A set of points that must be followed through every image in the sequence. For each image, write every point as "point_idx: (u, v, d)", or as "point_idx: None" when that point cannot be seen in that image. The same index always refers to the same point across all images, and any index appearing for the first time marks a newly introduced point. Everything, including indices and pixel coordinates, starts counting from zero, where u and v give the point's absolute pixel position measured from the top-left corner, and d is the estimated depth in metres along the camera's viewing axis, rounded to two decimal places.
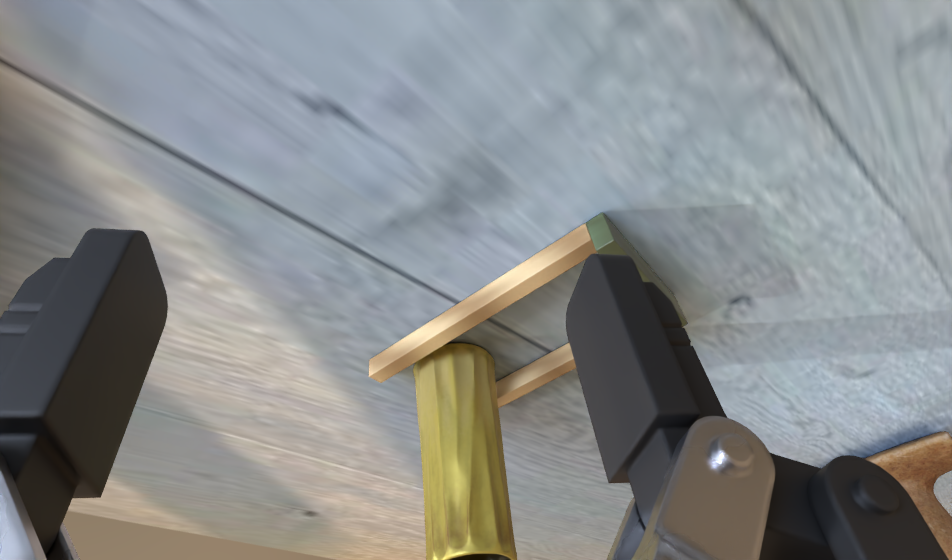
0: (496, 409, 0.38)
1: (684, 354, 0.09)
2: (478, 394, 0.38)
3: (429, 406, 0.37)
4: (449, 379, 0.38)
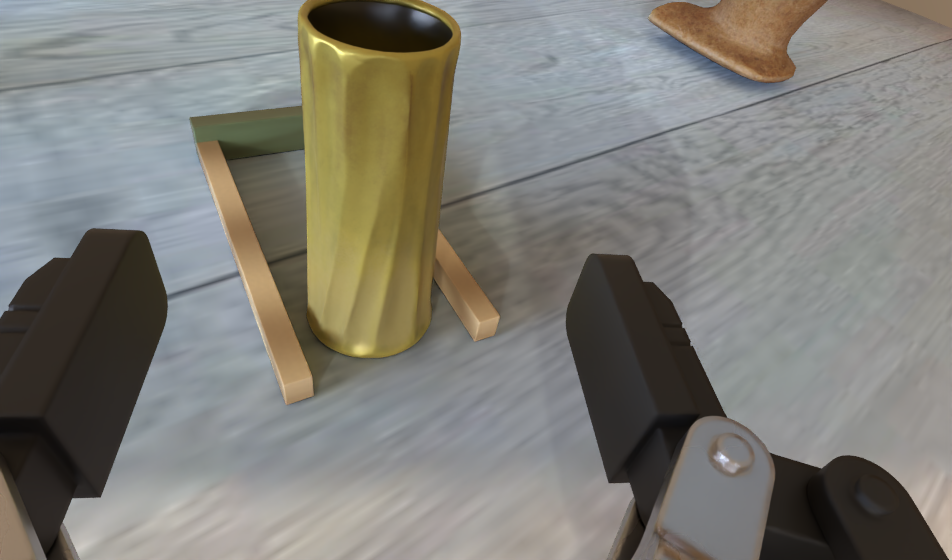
0: None
1: (684, 354, 0.09)
2: None
3: (316, 265, 0.23)
4: None
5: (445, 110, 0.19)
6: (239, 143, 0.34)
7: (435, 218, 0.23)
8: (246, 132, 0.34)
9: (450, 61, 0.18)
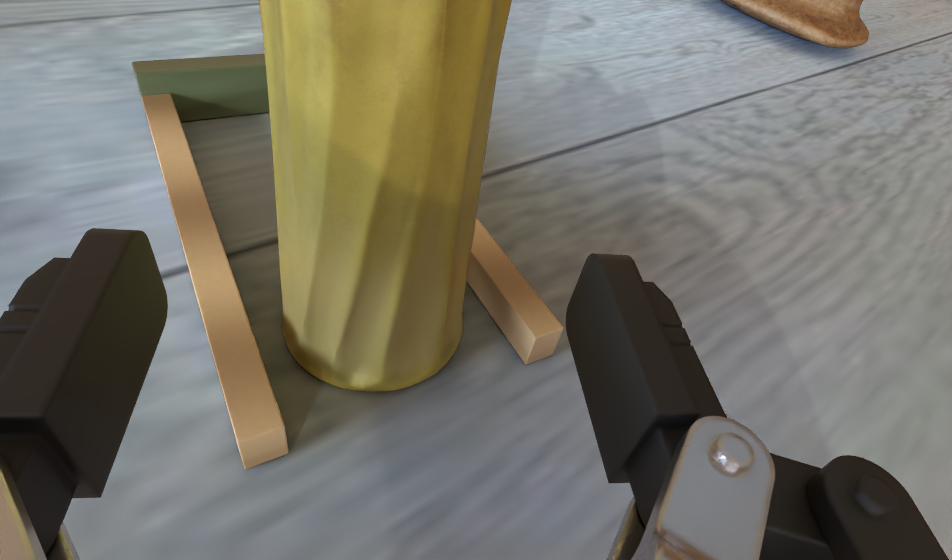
0: None
1: (684, 354, 0.09)
2: None
3: (291, 250, 0.15)
4: None
5: None
6: (200, 98, 0.26)
7: (479, 174, 0.14)
8: (210, 84, 0.26)
9: None
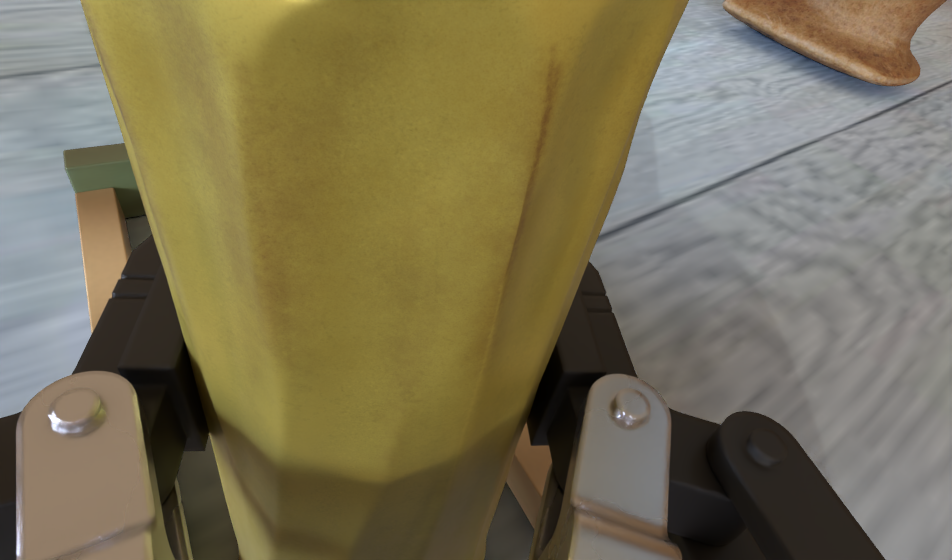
0: None
1: (603, 320, 0.10)
2: None
3: (240, 518, 0.10)
4: None
5: (610, 185, 0.06)
6: None
7: (524, 423, 0.09)
8: None
9: None
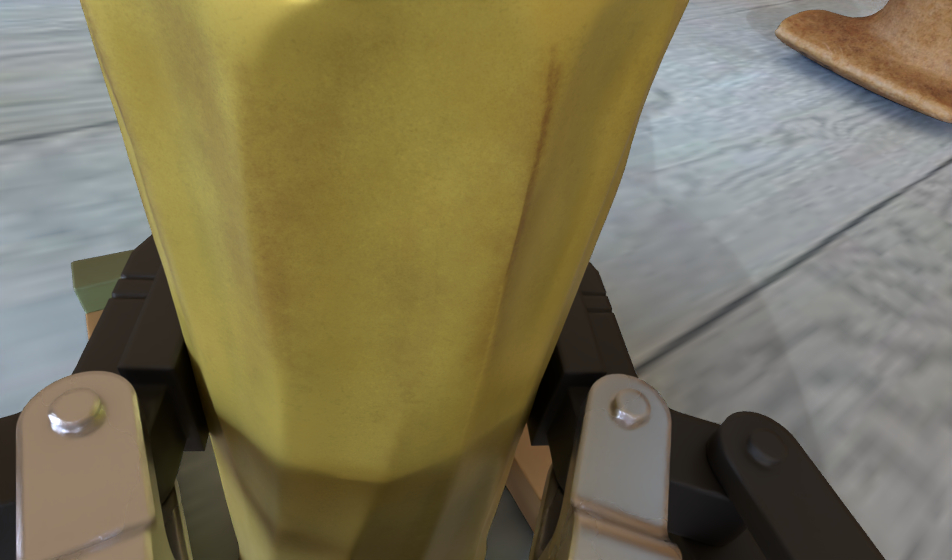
0: None
1: (603, 320, 0.10)
2: None
3: (241, 519, 0.10)
4: None
5: (610, 185, 0.06)
6: None
7: (525, 423, 0.09)
8: None
9: None
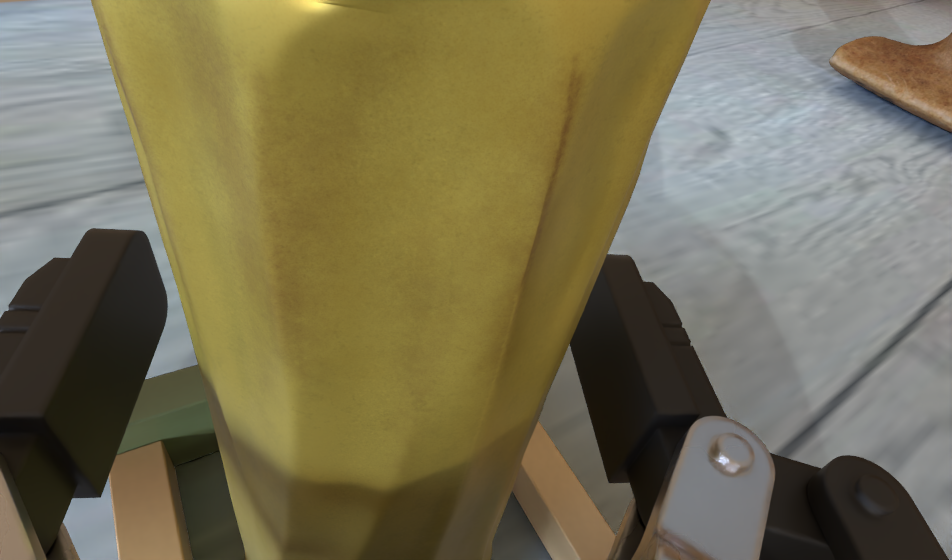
0: None
1: (684, 354, 0.09)
2: None
3: (247, 522, 0.10)
4: None
5: None
6: None
7: (533, 429, 0.09)
8: None
9: None
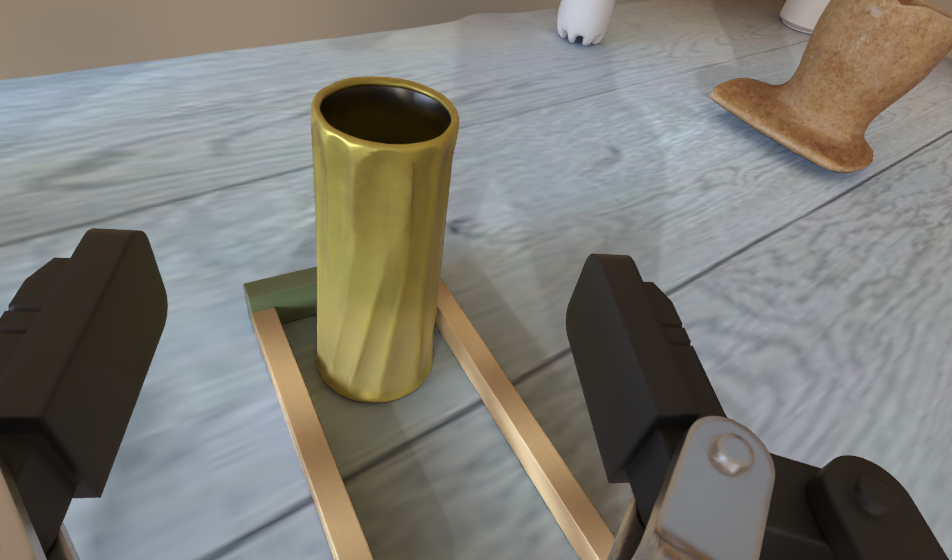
0: None
1: (684, 354, 0.09)
2: None
3: (325, 318, 0.25)
4: None
5: (445, 185, 0.21)
6: (297, 306, 0.30)
7: (436, 276, 0.24)
8: (307, 295, 0.30)
9: (449, 146, 0.20)
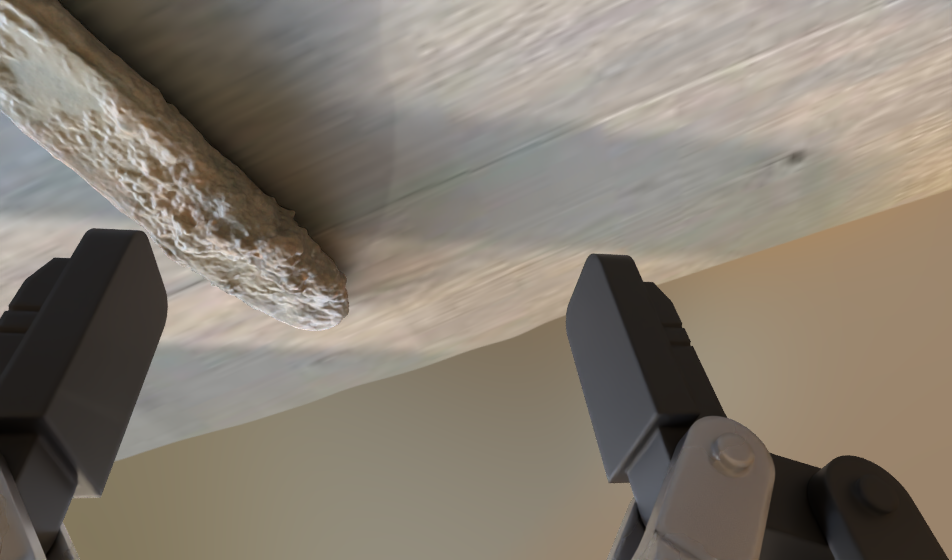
0: None
1: (684, 354, 0.09)
2: None
3: None
4: None
5: None
6: None
7: None
8: None
9: None
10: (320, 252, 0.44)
